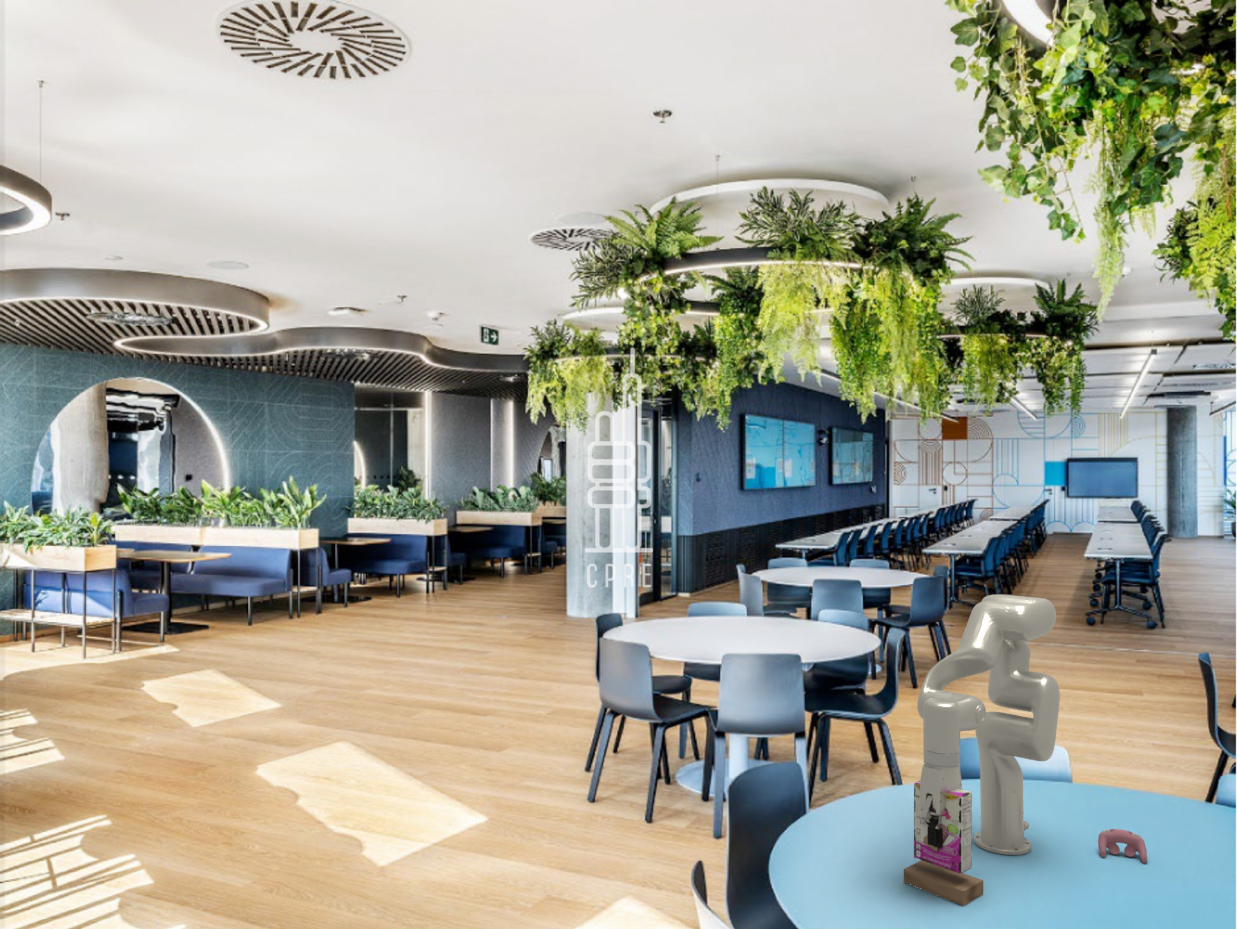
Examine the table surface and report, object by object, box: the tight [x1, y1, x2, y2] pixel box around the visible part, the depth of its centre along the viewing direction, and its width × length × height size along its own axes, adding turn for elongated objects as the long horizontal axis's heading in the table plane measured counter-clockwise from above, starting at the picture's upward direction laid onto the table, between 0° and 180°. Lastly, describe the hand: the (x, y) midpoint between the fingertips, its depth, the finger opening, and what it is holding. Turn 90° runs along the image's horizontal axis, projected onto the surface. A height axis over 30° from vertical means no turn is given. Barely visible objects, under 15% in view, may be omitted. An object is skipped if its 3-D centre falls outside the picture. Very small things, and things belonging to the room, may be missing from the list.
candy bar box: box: [913, 780, 973, 874], centre depth 192 cm, size 11×5×16 cm, turn 41°
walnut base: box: [903, 860, 984, 907], centre depth 192 cm, size 8×14×3 cm, turn 40°
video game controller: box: [1097, 828, 1148, 864], centre depth 209 cm, size 10×5×7 cm, turn 66°
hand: (942, 841), depth 192 cm, fingers closed on candy bar box, 5 cm apart
